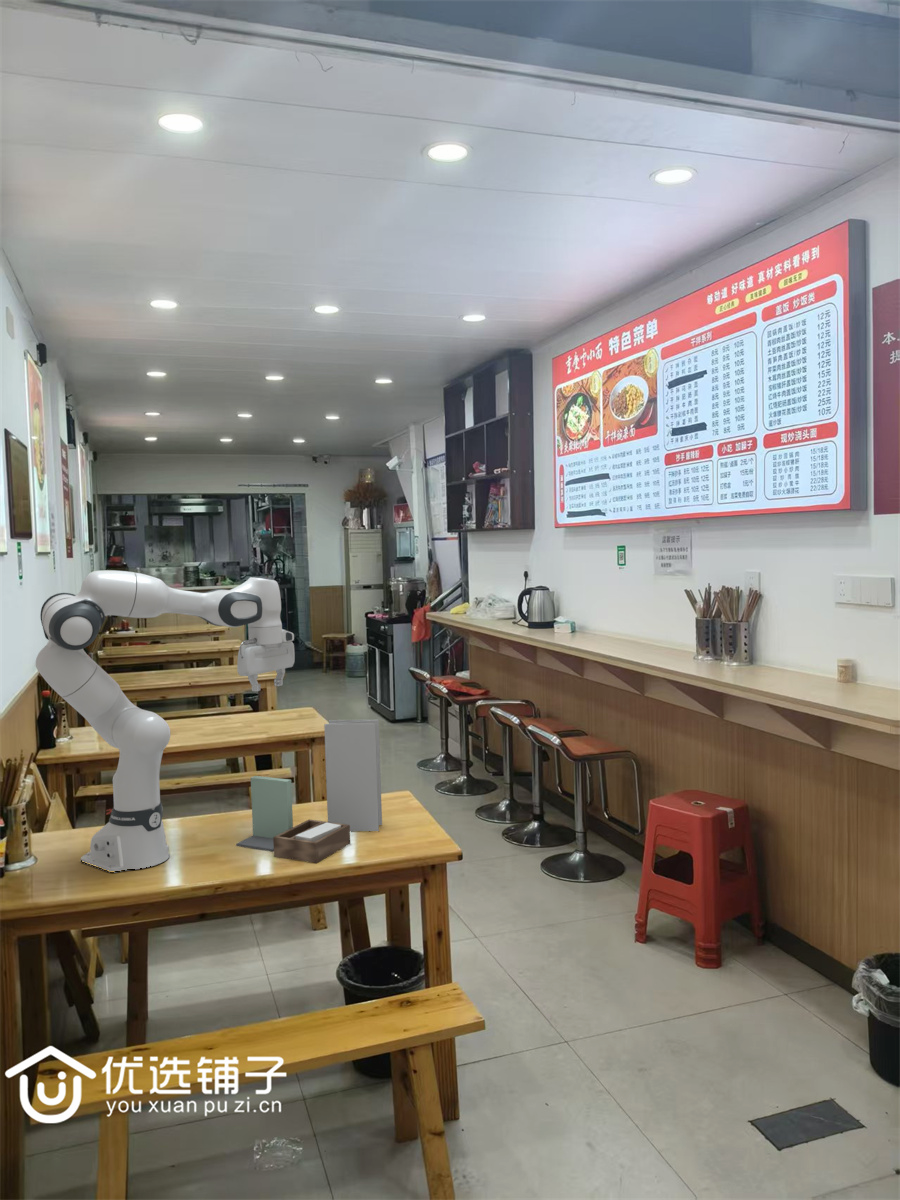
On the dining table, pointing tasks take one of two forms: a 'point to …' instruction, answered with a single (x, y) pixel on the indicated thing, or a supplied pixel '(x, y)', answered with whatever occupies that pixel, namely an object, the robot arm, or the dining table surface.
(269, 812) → the block
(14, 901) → the dining table surface
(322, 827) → the offcut upper
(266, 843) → the mat
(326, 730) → the brochure
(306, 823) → the rack
